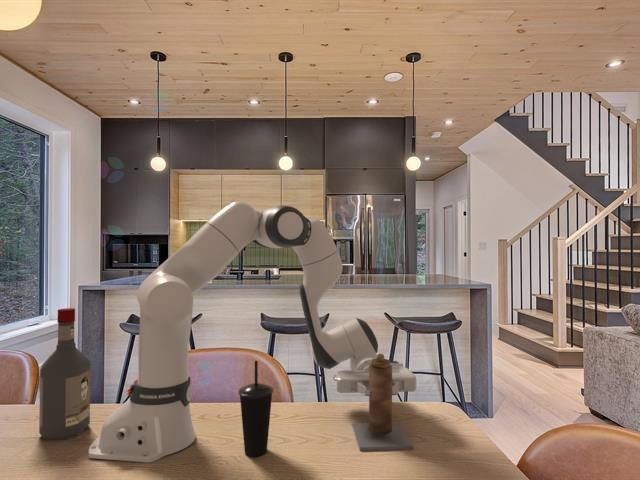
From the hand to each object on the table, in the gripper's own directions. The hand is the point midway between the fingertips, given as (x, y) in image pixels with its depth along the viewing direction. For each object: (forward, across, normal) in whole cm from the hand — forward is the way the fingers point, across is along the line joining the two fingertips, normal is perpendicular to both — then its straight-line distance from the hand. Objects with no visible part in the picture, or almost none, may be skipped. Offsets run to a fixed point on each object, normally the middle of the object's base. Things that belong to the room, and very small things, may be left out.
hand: (381, 392), depth 96 cm
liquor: (-9, -77, +11) cm, 78 cm away
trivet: (-1, 0, +11) cm, 11 cm away
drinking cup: (+4, -29, +11) cm, 31 cm away
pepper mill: (-1, 0, +9) cm, 9 cm away
